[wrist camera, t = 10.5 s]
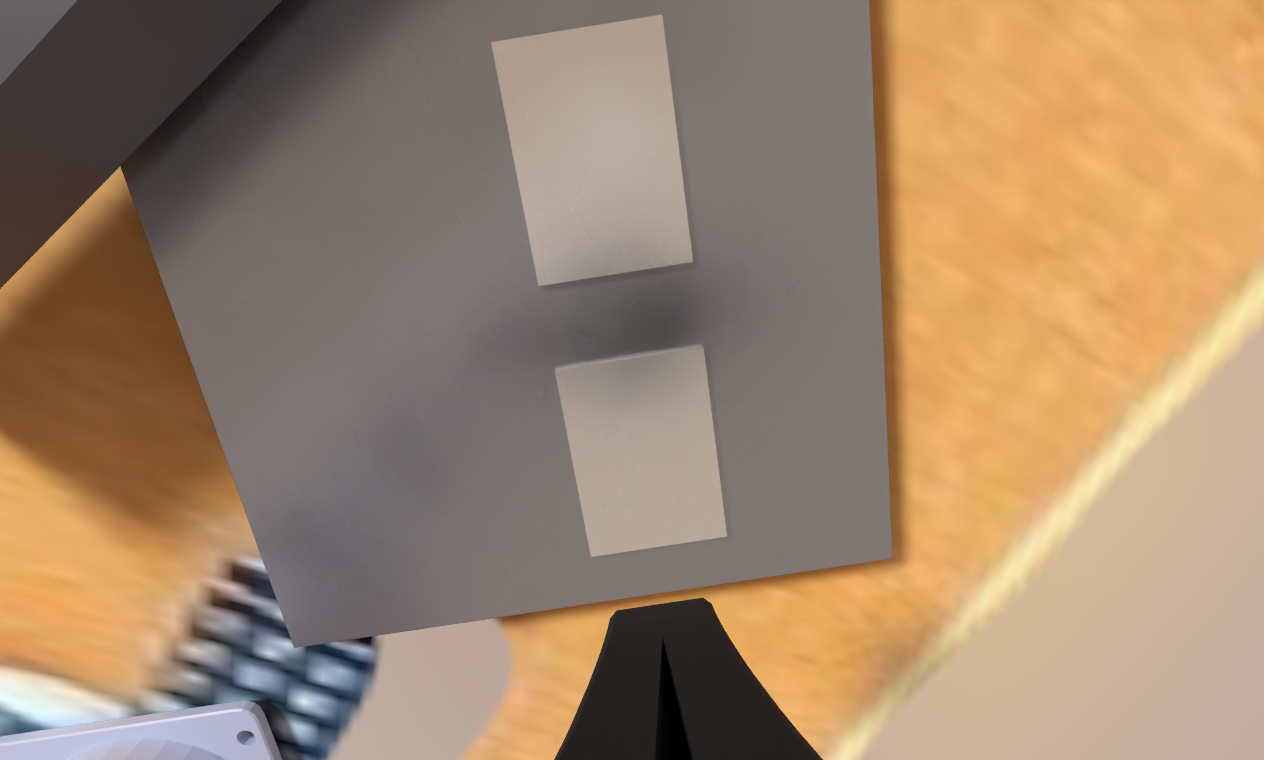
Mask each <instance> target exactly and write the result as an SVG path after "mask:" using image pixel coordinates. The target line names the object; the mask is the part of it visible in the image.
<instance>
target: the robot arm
mask: <svg viewBox="0 0 1264 760" xmlns="http://www.w3.org/2000/svg"><path fill="white" fill-rule="evenodd" d="M247 731H249V732H251V733H253V734H250V733H248V732H247ZM0 760H282V757H281V755H280V752H279V750H278V747H277V745H276V742H275V739H274V737H273V734H272V732H271V729H270V727H269V724H268V721H267V719H266V716H265V714H264V712H263V710H262V709H261V707H260V706H259V705H257V704H256V703H254V702H251V701H236V702H230V703H223V704H216V705H209V706H203V707H196V708H189V709H183V710H176V711H169V712H162V713H156V714H149V715H142V716H135V717H129V718H122V719H115V720H108V721H102V722H95V723H88V724H81V725H75V726H68V727H61V728H54V729H48V730H41V731H34V732H27V733H21V734H14V735H7V736H2V737H0ZM554 760H823V759H822V758H821V757H820V756H819V755H818V754H817V752H816V751H815V750H814V749H813V748H812V747H811V746H810V744H809V743H808V742H807V741H806V740H805V739H804V737H803V736H802V735H801V734H800V733H799V732H798V731H797V729H796V728H795V727H794V726H793V724H792V723H791V722H790V721H789V720H788V718H787V717H786V716H785V715H784V713H783V712H782V711H781V710H780V708H779V707H778V706H777V704H776V703H775V702H774V701H773V699H772V698H771V697H770V695H769V694H768V693H767V691H766V690H765V689H764V687H763V686H762V685H761V683H760V682H759V681H758V679H757V678H756V677H755V675H754V674H753V673H752V671H751V670H750V668H749V667H748V666H747V664H746V663H745V661H744V660H743V658H742V657H741V655H740V654H739V652H738V651H737V649H736V648H735V646H734V645H733V643H732V641H731V640H730V638H729V637H728V635H727V633H726V632H725V630H724V628H723V626H722V625H721V623H720V621H719V619H718V617H717V615H716V613H715V611H714V609H713V606H712V604H711V603H710V602H708V601H707V600H705V599H704V598H698V599H691V600H684V601H678V602H671V603H664V604H658V605H651V606H644V607H637V608H631V609H624V610H617V611H616V612H615V613H614V615H613V616H612V617H611V618H610V621H609V626H608V630H607V633H606V637H605V640H604V643H603V646H602V649H601V652H600V655H599V658H598V661H597V663H596V666H595V669H594V671H593V674H592V677H591V679H590V682H589V685H588V687H587V689H586V692H585V694H584V696H583V699H582V701H581V703H580V706H579V708H578V710H577V713H576V715H575V717H574V720H573V722H572V724H571V727H570V729H569V731H568V733H567V735H566V737H565V739H564V742H563V743H562V745H561V747H560V749H559V751H558V753H557V755H556V757H555V759H554Z"/></svg>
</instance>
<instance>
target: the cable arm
mask: <svg viewBox="0 0 1264 760" xmlns="http://www.w3.org/2000/svg"><path fill="white" fill-rule="evenodd" d="M281 1H282V0H0V289H1V287H2V286H3V285H4V284H5V283H6V282H7V281H8V280H9V279H10V278H11V277H12V276H13V275H14V274H15V273H16V272H17V271H18V270H19V269H20V268H21V267H22V266H23V265H24V264H25V263H26V262H27V261H28V260H29V259H30V258H31V257H32V256H33V255H34V254H35V253H36V252H37V251H38V250H39V249H40V248H41V247H42V245H43V244H44V243H45V242H46V241H47V240H48V239H49V238H50V237H51V236H52V235H53V234H54V233H55V232H56V231H57V230H58V229H59V228H60V227H61V226H62V225H63V224H64V223H65V222H66V221H67V220H68V219H69V218H70V217H71V216H72V215H73V214H74V213H75V212H76V211H77V210H78V209H79V208H80V207H81V206H82V205H83V203H84V202H85V201H86V200H87V199H88V198H89V197H90V196H91V195H92V194H93V193H94V192H95V191H96V190H97V189H98V188H99V187H100V186H101V185H102V184H103V183H104V182H105V181H106V180H107V179H108V178H109V177H110V176H111V175H112V174H113V173H114V172H115V171H116V170H117V169H118V168H119V167H120V166H121V165H122V164H123V163H124V162H125V160H126V159H127V158H128V157H129V156H130V155H131V154H132V153H133V152H134V151H135V150H136V149H137V148H138V147H139V146H140V145H141V144H142V143H143V142H144V141H145V140H146V139H147V138H148V137H149V136H150V135H151V134H152V133H153V132H154V131H155V130H156V129H157V128H158V127H159V126H160V125H161V124H162V123H163V122H164V121H165V120H166V118H167V117H168V116H169V115H170V114H171V113H172V112H173V111H174V110H175V109H176V108H177V107H178V106H179V105H180V104H181V103H182V102H183V101H184V100H185V99H186V98H187V97H188V96H189V95H190V94H191V93H192V92H193V91H194V90H195V89H196V88H197V87H198V86H199V85H200V84H201V83H202V82H203V81H204V80H205V79H206V78H207V76H208V75H209V74H210V73H211V72H212V71H213V70H214V69H215V68H216V67H217V66H218V65H219V64H220V63H221V62H222V61H223V60H224V59H225V58H226V57H227V56H228V55H229V54H230V53H231V52H232V51H233V50H234V49H235V48H236V47H237V46H238V45H239V44H240V43H241V42H242V41H243V40H244V39H245V38H246V37H247V36H248V34H249V33H250V32H251V31H252V30H253V29H254V28H255V27H256V26H257V25H258V24H259V23H260V22H261V21H262V20H263V19H264V18H265V17H266V16H267V15H268V14H269V13H270V12H271V11H272V10H273V9H274V8H275V7H276V6H277V5H278V4H279V3H280V2H281Z"/></svg>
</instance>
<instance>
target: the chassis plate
mask: <svg viewBox="0 0 1264 760" xmlns="http://www.w3.org/2000/svg"><path fill="white" fill-rule="evenodd" d="M121 169H122V172H123V174H124V177H125V180H126V183H127V185H128V188H129V191H130V194H131V197H132V199H133V202H134V205H135V208H136V210H137V213H138V216H139V219H140V221H141V224H142V227H143V230H144V233H145V235H146V238H147V241H148V244H149V246H150V249H151V252H152V255H153V258H154V260H155V263H156V266H157V269H158V271H159V274H160V277H161V280H162V282H163V285H164V288H165V291H166V294H167V296H168V299H169V302H170V305H171V307H172V310H173V313H174V316H175V318H176V321H177V324H178V327H179V330H180V332H181V335H182V338H183V341H184V343H185V346H186V349H187V352H188V355H189V357H190V360H191V363H192V366H193V368H194V371H195V374H196V377H197V379H198V382H199V385H200V388H201V391H202V393H203V396H204V399H205V402H206V404H207V407H208V410H209V413H210V415H211V418H212V421H213V424H214V427H215V429H216V432H217V435H218V438H219V440H220V443H221V446H222V449H223V452H224V454H225V457H226V460H227V463H228V465H229V468H230V471H231V474H232V476H233V479H234V482H235V485H236V488H237V490H238V493H239V496H240V499H241V501H242V504H243V507H244V510H245V512H246V515H247V518H248V521H249V524H250V526H251V529H252V532H253V535H254V537H255V540H256V543H257V546H258V549H259V551H260V554H261V557H262V560H263V562H264V565H265V568H266V571H267V573H268V576H269V579H270V582H271V585H272V587H273V590H274V593H275V596H276V598H277V601H278V604H279V607H280V610H281V612H282V615H283V618H284V621H285V623H286V626H287V629H288V632H289V634H290V637H291V640H292V643H293V646H294V648H297V647H303V646H310V645H317V644H323V643H330V642H337V641H344V640H350V639H357V638H364V637H370V636H377V635H383V634H390V633H397V632H403V631H410V630H417V629H424V628H430V627H437V626H444V625H451V624H457V623H464V622H471V621H477V620H484V619H491V618H497V617H504V616H511V615H518V614H524V613H531V612H538V611H544V610H551V609H558V608H564V607H571V606H578V605H585V604H591V603H598V602H605V601H611V600H618V599H625V598H631V597H638V596H645V595H651V594H658V593H665V592H672V591H678V590H685V589H692V588H698V587H705V586H712V585H718V584H725V583H732V582H738V581H745V580H752V579H759V578H765V577H772V576H779V575H785V574H792V573H799V572H805V571H812V570H819V569H825V568H832V567H839V566H846V565H852V564H859V563H866V562H872V561H879V560H886V559H892V535H891V511H890V487H889V463H888V439H887V414H886V390H885V366H884V342H883V318H882V294H881V270H880V246H879V222H878V198H877V174H876V150H875V126H874V102H873V78H872V54H871V30H870V6H869V0H282V1H281V2H280V3H279V4H278V5H277V6H276V7H275V8H274V9H273V10H272V11H271V12H270V13H269V14H268V15H267V16H266V17H265V18H264V19H263V20H262V21H261V22H260V23H259V24H258V25H257V26H256V27H255V28H254V29H253V30H252V31H251V32H250V33H249V34H248V36H247V37H246V38H245V39H244V40H243V41H242V42H241V43H240V44H239V45H238V46H237V47H236V48H235V49H234V50H233V51H232V52H231V53H230V54H229V55H228V56H227V57H226V58H225V59H224V60H223V61H222V62H221V63H220V64H219V65H218V66H217V67H216V68H215V69H214V70H213V71H212V72H211V73H210V74H209V75H208V76H207V78H206V79H205V80H204V81H203V82H202V83H201V84H200V85H199V86H198V87H197V88H196V89H195V90H194V91H193V92H192V93H191V94H190V95H189V96H188V97H187V98H186V99H185V100H184V101H183V102H182V103H181V104H180V105H179V106H178V107H177V108H176V109H175V110H174V111H173V112H172V113H171V114H170V115H169V116H168V117H167V118H166V120H165V121H164V122H163V123H162V124H161V125H160V126H159V127H158V128H157V129H156V130H155V131H154V132H153V133H152V134H151V135H150V136H149V137H148V138H147V139H146V140H145V141H144V142H143V143H142V144H141V145H140V146H139V147H138V148H137V149H136V150H135V151H134V152H133V153H132V154H131V155H130V156H129V157H128V158H127V159H126V160H125V162H124V163H123V164H122V165H121Z"/></svg>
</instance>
